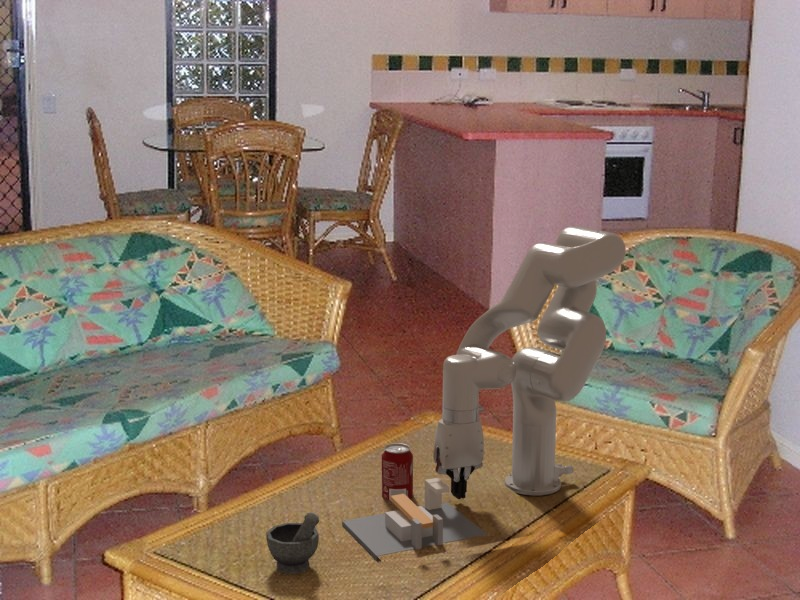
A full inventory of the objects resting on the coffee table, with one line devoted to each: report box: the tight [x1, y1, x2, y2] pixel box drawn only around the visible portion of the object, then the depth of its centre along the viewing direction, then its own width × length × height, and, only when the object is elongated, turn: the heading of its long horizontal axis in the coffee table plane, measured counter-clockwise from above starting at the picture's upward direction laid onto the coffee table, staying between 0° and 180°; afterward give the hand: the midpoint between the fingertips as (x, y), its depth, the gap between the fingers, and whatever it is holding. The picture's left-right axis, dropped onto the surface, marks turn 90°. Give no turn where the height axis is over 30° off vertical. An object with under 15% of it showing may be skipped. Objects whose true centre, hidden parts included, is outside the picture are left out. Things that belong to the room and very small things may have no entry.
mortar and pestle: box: [265, 512, 320, 575], centre depth 217 cm, size 11×9×12 cm
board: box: [341, 501, 488, 563], centre depth 233 cm, size 24×18×6 cm
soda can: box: [381, 442, 414, 502], centre depth 249 cm, size 7×7×12 cm
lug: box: [424, 477, 450, 510], centre depth 241 cm, size 3×6×6 cm, turn 24°
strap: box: [390, 494, 434, 529], centre depth 231 cm, size 3×14×1 cm, turn 24°
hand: (458, 496), depth 245 cm, fingers closed
